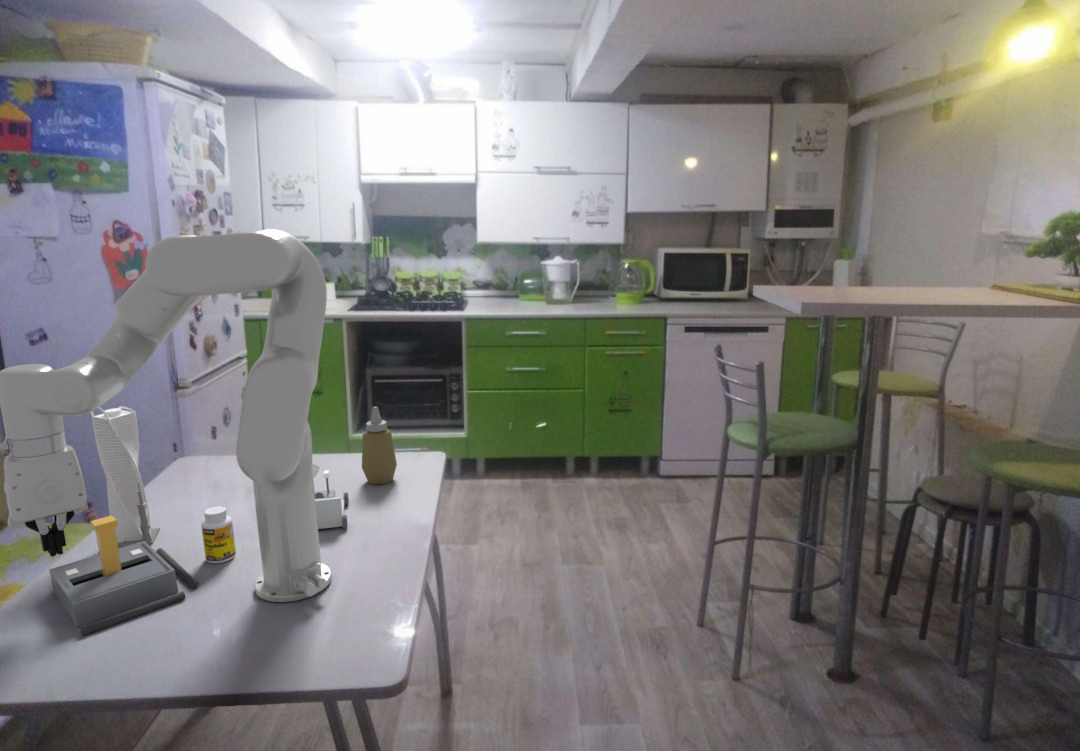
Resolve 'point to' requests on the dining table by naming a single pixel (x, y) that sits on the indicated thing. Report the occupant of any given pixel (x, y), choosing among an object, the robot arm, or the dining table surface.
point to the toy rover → (330, 506)
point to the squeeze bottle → (378, 451)
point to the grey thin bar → (132, 613)
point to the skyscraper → (123, 475)
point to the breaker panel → (112, 583)
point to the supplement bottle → (218, 535)
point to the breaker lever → (107, 544)
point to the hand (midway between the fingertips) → (55, 552)
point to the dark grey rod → (178, 568)
